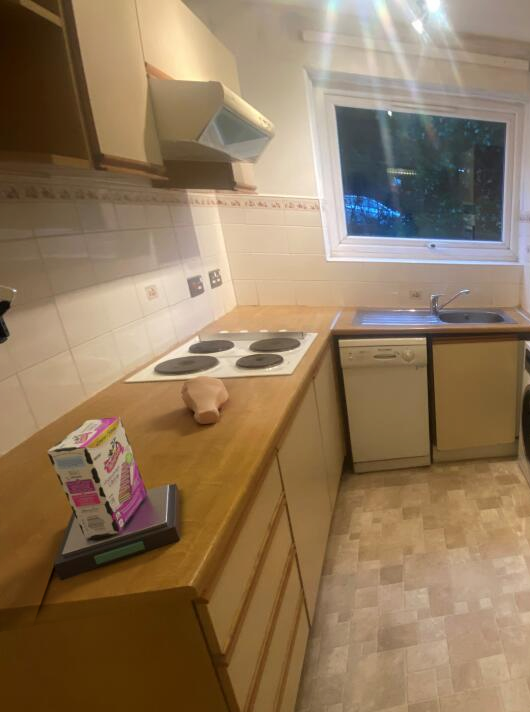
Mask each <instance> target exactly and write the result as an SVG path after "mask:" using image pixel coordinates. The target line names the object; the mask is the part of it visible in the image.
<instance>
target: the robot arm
mask: <svg viewBox="0 0 530 712" xmlns="http://www.w3.org/2000/svg"><path fill="white" fill-rule="evenodd" d="M16 295H17V289H16V288H14V287H10V286H6V285H3V284H0V345H3V344H4V343H5V342H7V341H8V338H9V337H10V336H11V334H10V331H9V328H8V325H7V324H6V322H5V319H4V317H3V316H5V315H6V313H7V312H8V311H9V310H10V309H11V308H12V306H14V302H15V299H16Z"/></svg>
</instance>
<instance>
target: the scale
mask: <svg viewBox="0 0 530 712" xmlns="http://www.w3.org/2000/svg"><path fill="white" fill-rule="evenodd" d="M168 485H169V487H170V489H169V509H168V525H167V526H164V527H161V528H158V529H155V530H152V531H148V532H145V533H142V534H139V535H136V536H132V537H129V538H126V539H123V540H120V541H116V542H113V543H110V544H107V545H104V546H100V547H97V548H94V549H91V550H88V551H84V552H81V553H78V554H75V555H72V556H68V557H65V558H64V557H63V555H62V553H63V550H64V547H65V544H66V541H67V538H68V535H69V533H70V530H71V527H72V524H73V521H74V518H75V514H74V512H73V511H72V513H71V515H70V519H69V521H68V524H67V526H66V529H65V532H64V535H63V537H62V541H61V543H60V546H59V549H58V552H57V554H56V556H55V559H54V563H53V567H54V569H55V571H56V573H57V575H58V576H59V579H60V580H64V579H68V578H70V577H74V576H76V575H80V574H83V573H86V572H89V571H91V570H95V569H98V568H101V567H103V566H107V565H110V564H113V563H116V562H119V561H121V560H125V559H128V558H131V557H134V556H138V555H140V554H143V553H146V552H150V551H152V550H155V549H158V548H161V547H164V546H168V545H170V544H173V543H176V542H179V541H181V493H180V490H179V488H178V485H177V483H174V484H168Z"/></svg>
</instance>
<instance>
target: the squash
mask: <svg viewBox="0 0 530 712" xmlns="http://www.w3.org/2000/svg"><path fill="white" fill-rule="evenodd" d="M180 393H181V395H182V396H181V399H182V401H183V402H184V404H185V406H186V407H187V408H188V409H189V410H191V411H193V412H194V414H193V419H194V420H195V421H196V422H197V423H198V424H200V425H207V424H208V425H209V424H215V423H218V422H219V419H220V416H221V414H220V412H219V410H220V409H221V408H223V407H224V406H225V403H226V401H228V398H229V395H230V394H229V393H228V390H227V389H226V387H225V385H224V382H223V381H222V379H220V378H216V377H212V376H208V375H198V376H196V377H193V378H191V379H187V380H186V381H184V383H183V386H182V389H181V392H180Z"/></svg>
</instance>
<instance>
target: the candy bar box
mask: <svg viewBox="0 0 530 712" xmlns="http://www.w3.org/2000/svg"><path fill="white" fill-rule="evenodd" d="M46 453H47V455H48V457H49V460H50V462H51V464H52V466H53V469H54V471H55V473H56V474H55V475H56V476H57V478H58V481H59V483H60V485H61V487H62V489H63V493H64V494H65V496H66V498H67V501H68V503H69V506H70V507H71V510H72V512H74V514H75V517H76V519H77V521H78V524H79V526H80V528H81V530H82V533H83V535H84V538H85V539H88V538H94V537H100V536H107V535H113V534H118V533H120V532H121V530H122V529H123V527H124V526H125V525H126V523H127V522H128V520H129V519H130V518H131V516H132V515H133V514H134V512H135V511H136V509H137V508H138V507H139V505H140V504H141V503H142V501H143V500H144V498H145V497H146V496H147V491H146V490H147V489H146V486H145V484H144V481H143V477H142V475H141V473H140V470H139V467H138V463H137V460H136V458H135V456H134V453H133V450H132V447H131V443H130V441H129V439H128V435H127V433H126V430H125V427H124V424H123V422H122V419H121V417H120V416H116V417H114V416H113V417H105V418H97V419H96V418H95V419H88V420H86V421H85V422H83V423H82V424H81V425H79V426H78V427H77V428H76V429H74V430H73V431H72V432H70V433H69V434H68V435H67V436H65V437H64V438H62V439H61V440H60V441H59V442H57V443H56V444H55V445H53V446H52V447H51V448H49V449H48V450H47V451H46Z"/></svg>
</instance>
